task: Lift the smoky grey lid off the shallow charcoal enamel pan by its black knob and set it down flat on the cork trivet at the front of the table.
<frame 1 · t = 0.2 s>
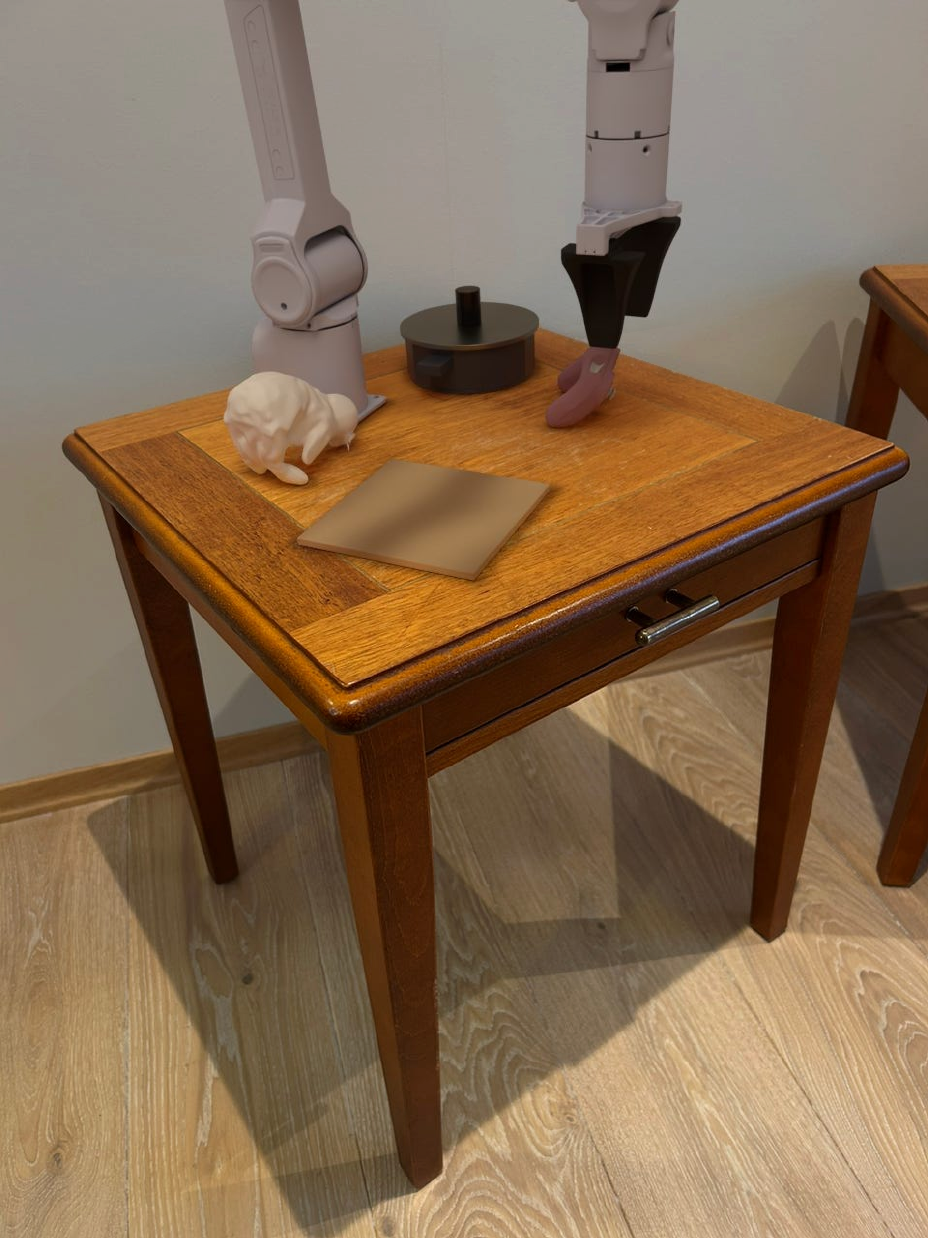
hand: (619, 330, 74), 10 cm above the table, tool pointing down, fingers open, 7 cm apart
trivet: (428, 516, 72), on the table
crouching animal figurine: (307, 465, 81), on the table
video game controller: (583, 411, 87), on the table
lid: (469, 327, 95), point 4 cm above the table, touching pan
pan: (471, 370, 97), on the table
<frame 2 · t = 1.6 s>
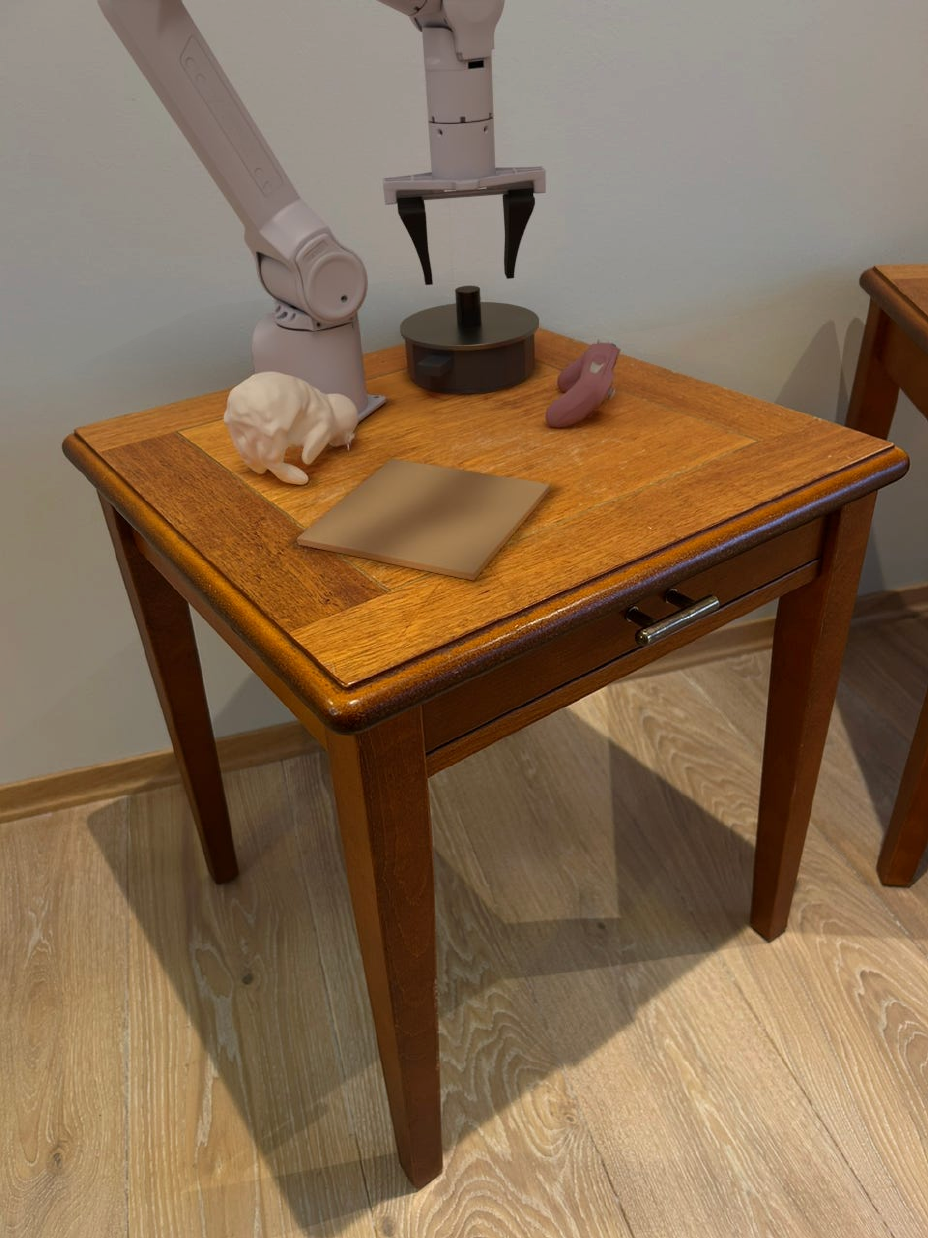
hand: (469, 278, 92), 9 cm above the table, tool pointing down, fingers open, 7 cm apart
nothing on the table moved.
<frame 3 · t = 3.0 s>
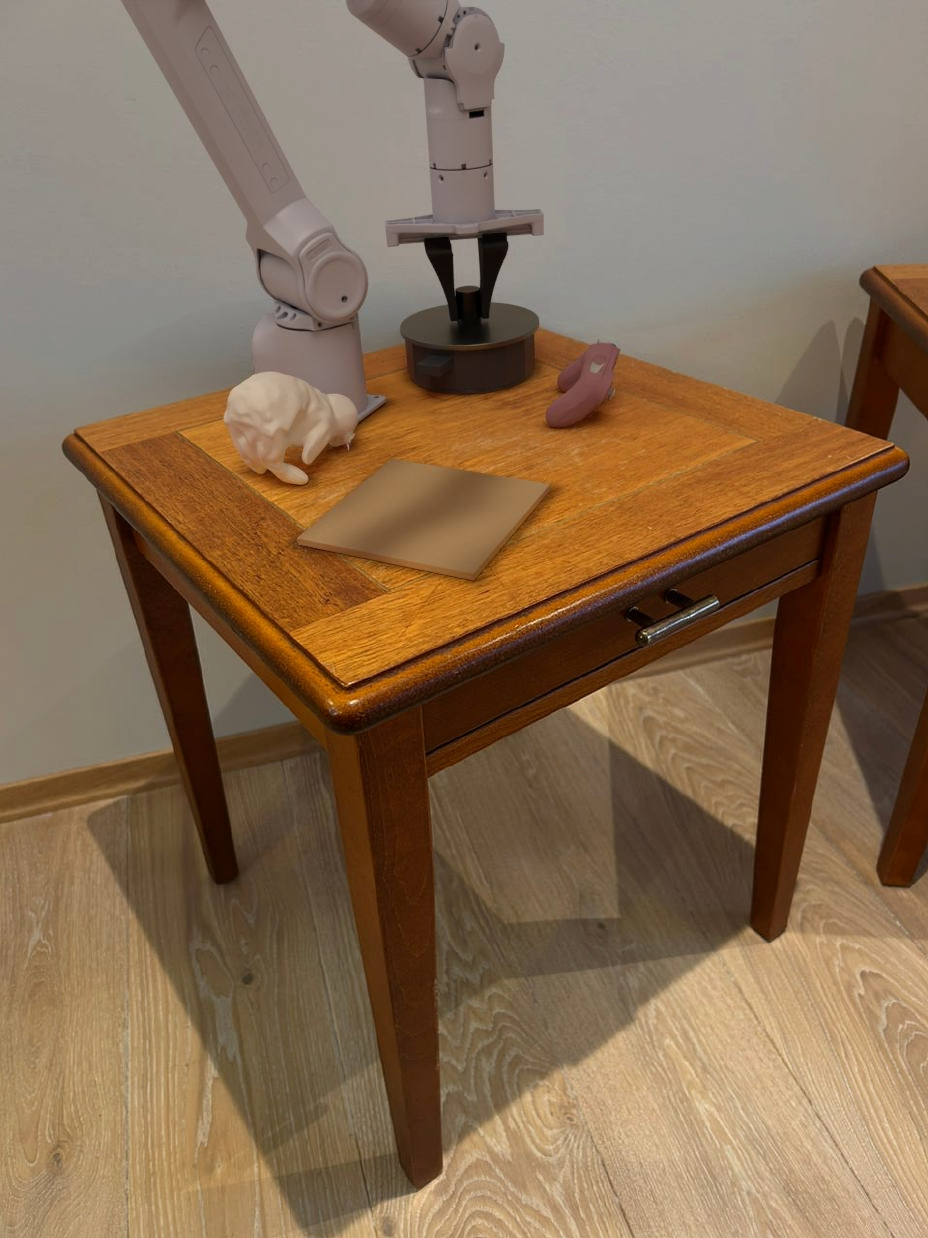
hand: (468, 317, 94), 5 cm above the table, tool pointing down, fingers closed on lid, 2 cm apart
lid: (469, 327, 95), point 4 cm above the table, touching gripper, pan
everything else where it was.
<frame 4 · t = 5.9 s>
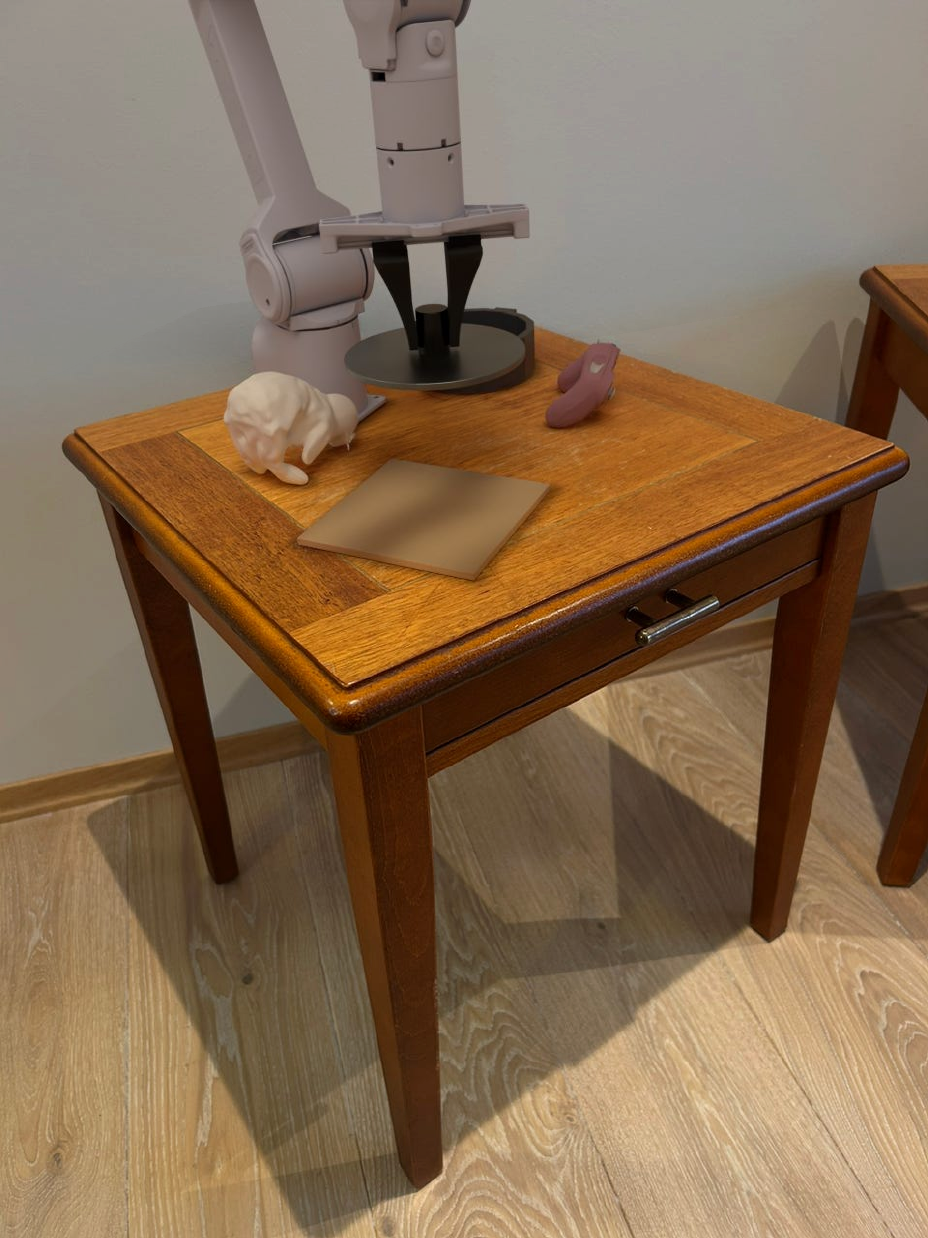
hand: (433, 344, 72), 10 cm above the table, tool pointing down, fingers closed on lid, 2 cm apart
lid: (434, 357, 73), point 9 cm above the table, touching gripper
everything else where it was.
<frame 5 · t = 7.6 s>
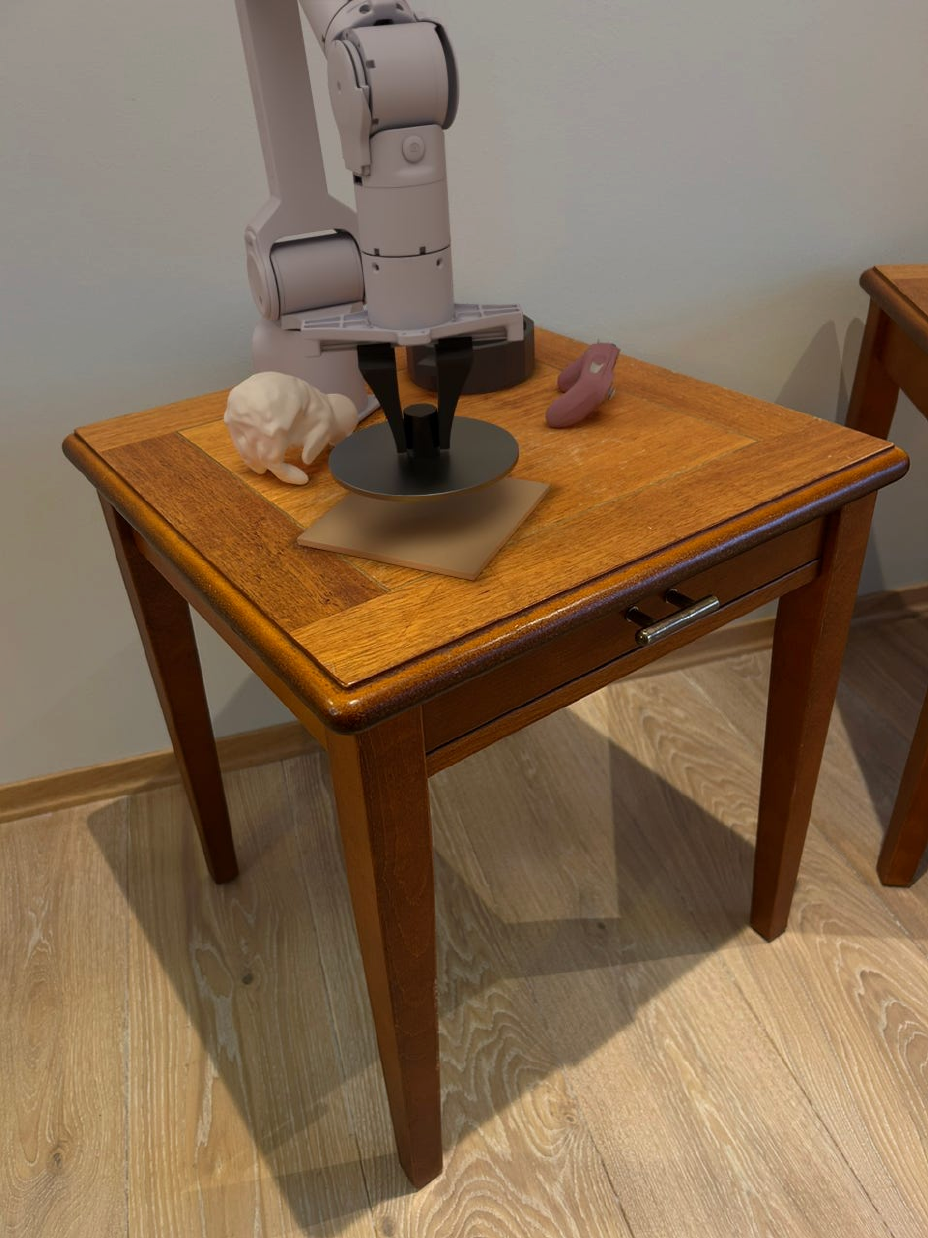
hand: (422, 445, 69), 6 cm above the table, tool pointing down, fingers closed on lid, 2 cm apart
lid: (424, 458, 69), point 5 cm above the table, touching gripper
everything else where it was.
when the fingers open (2 cm above the table, at t = 8.8 s): lid stays where it is, resting on trivet.
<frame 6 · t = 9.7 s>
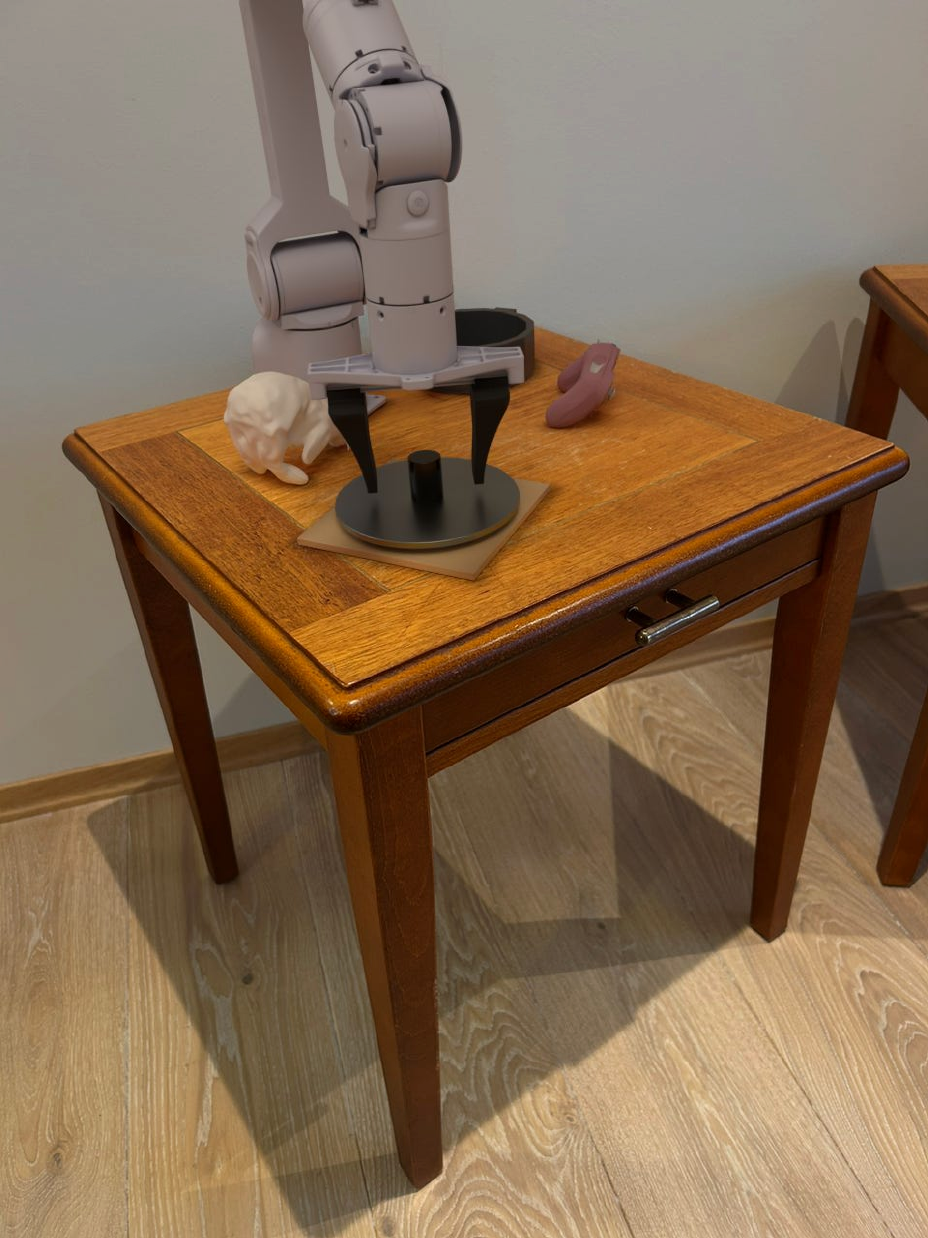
hand: (425, 482, 70), 3 cm above the table, tool pointing down, fingers open, 7 cm apart
lid: (427, 502, 71), point 1 cm above the table, touching trivet
everything else where it was.
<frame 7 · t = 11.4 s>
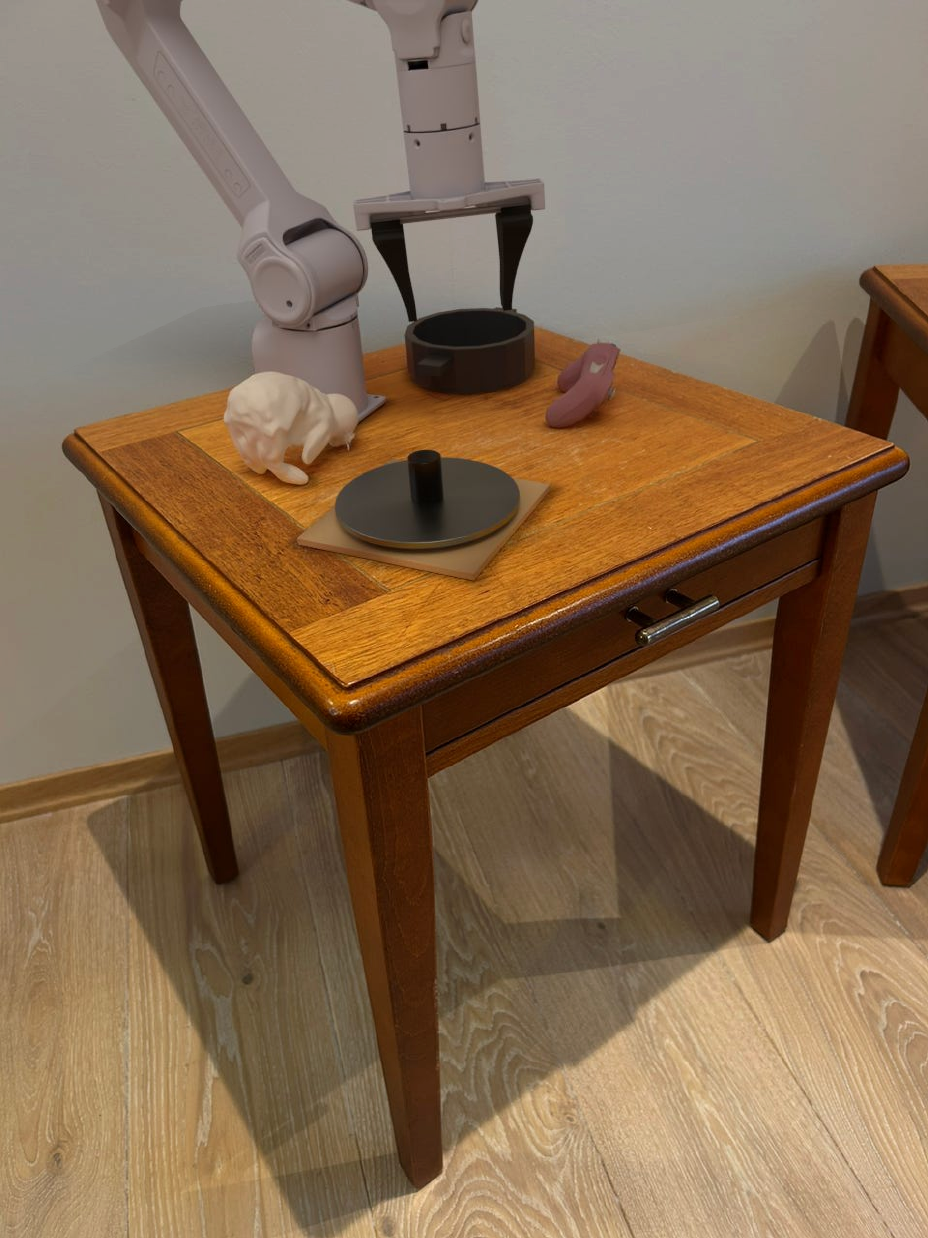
hand: (459, 312, 79), 10 cm above the table, tool pointing down, fingers open, 7 cm apart
nothing on the table moved.
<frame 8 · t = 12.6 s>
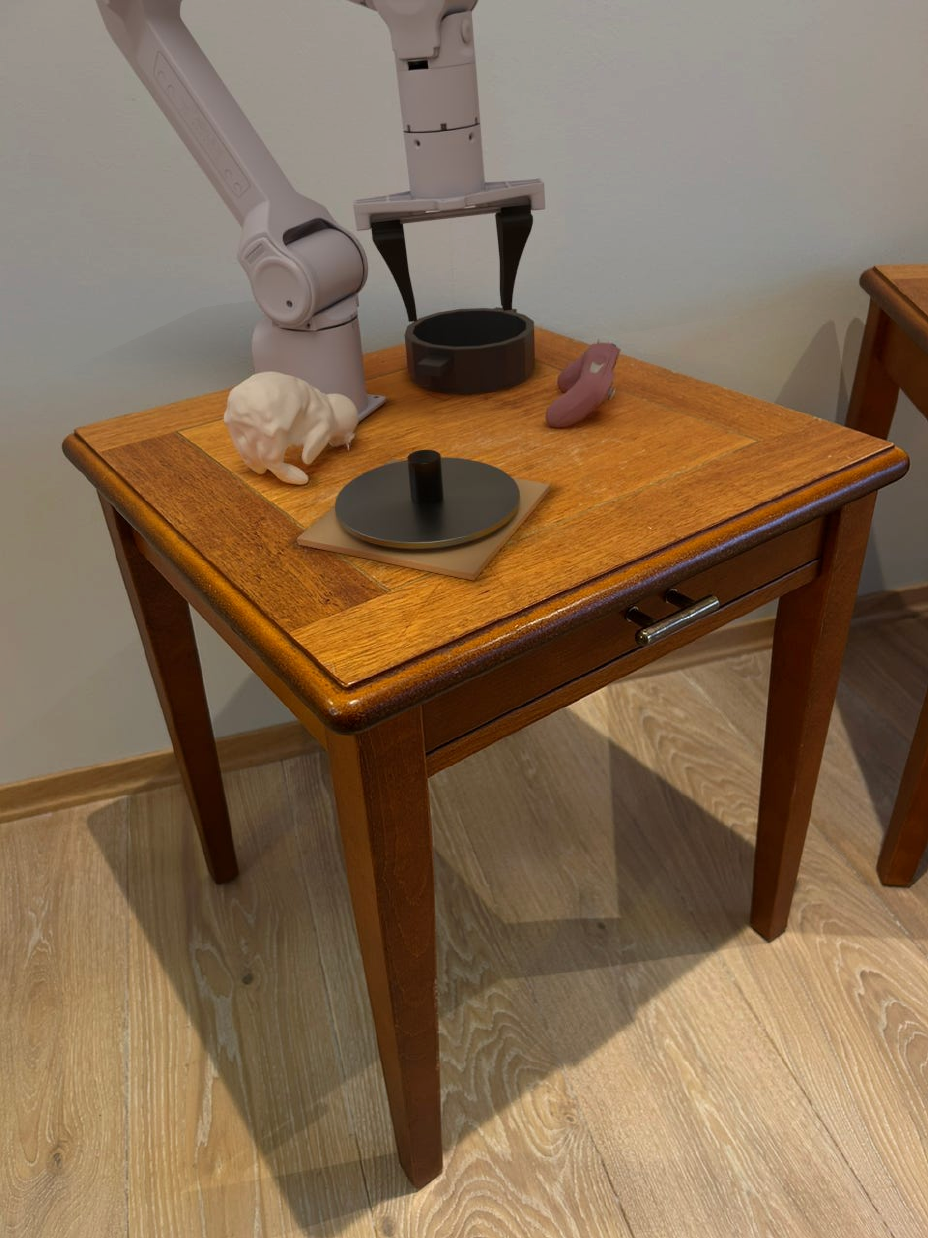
hand: (459, 312, 79), 10 cm above the table, tool pointing down, fingers open, 7 cm apart
nothing on the table moved.
at the end: lid 0.0 cm off-centre on the trivet, point 1.2 cm above the trivet's base; lid tilted 0°; the gripper is holding nothing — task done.
